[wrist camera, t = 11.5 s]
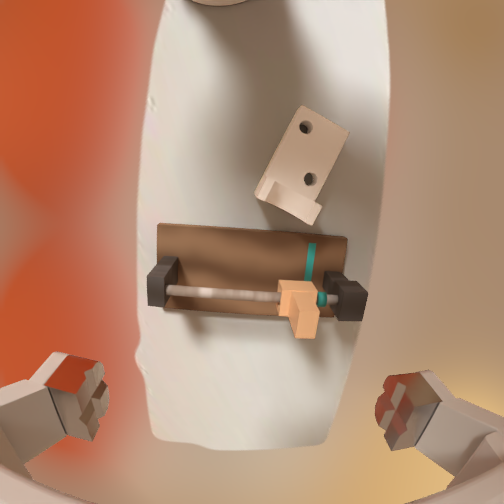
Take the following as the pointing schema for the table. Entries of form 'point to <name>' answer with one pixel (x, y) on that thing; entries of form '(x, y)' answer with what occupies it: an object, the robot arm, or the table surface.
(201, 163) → the table surface
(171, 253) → the linear slide rail
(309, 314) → the orange l-shaped block
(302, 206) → the bracket
